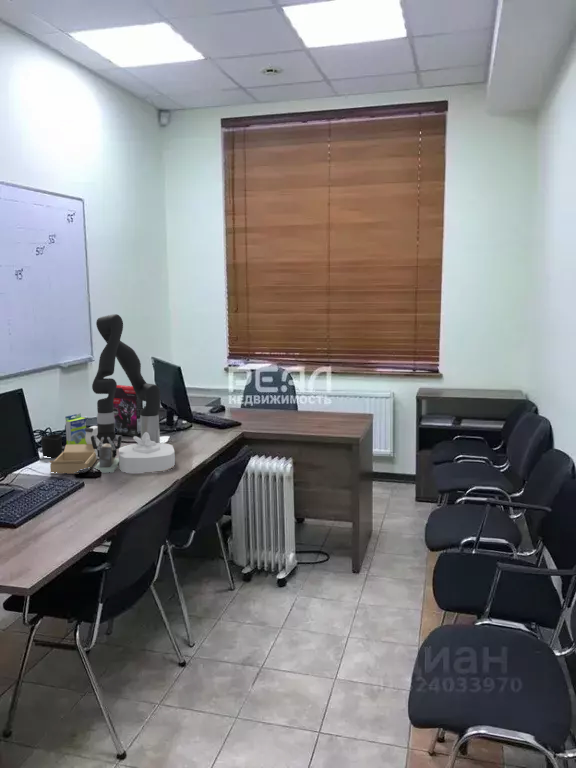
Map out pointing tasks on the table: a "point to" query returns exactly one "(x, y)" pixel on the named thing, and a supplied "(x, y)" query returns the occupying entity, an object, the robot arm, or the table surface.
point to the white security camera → (89, 433)
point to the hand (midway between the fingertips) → (107, 457)
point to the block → (106, 455)
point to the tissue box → (146, 456)
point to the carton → (74, 459)
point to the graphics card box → (127, 411)
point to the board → (108, 469)
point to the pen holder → (52, 445)
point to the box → (75, 429)
